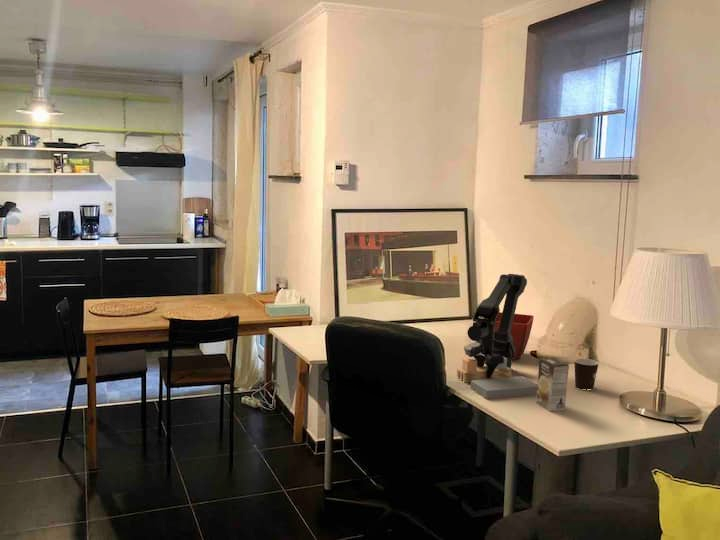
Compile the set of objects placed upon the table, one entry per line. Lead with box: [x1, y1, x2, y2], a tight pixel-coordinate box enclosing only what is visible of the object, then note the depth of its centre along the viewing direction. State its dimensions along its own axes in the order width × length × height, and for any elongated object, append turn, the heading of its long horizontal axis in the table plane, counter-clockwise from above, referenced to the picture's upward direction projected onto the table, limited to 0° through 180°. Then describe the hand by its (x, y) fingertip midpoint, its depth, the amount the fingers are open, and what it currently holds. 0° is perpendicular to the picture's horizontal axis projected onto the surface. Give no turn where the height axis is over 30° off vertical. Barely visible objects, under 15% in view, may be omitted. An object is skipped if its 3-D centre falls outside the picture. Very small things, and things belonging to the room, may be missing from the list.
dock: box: [470, 375, 538, 400], centre depth 248 cm, size 22×12×3 cm, turn 108°
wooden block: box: [456, 365, 513, 383], centre depth 263 cm, size 20×6×4 cm, turn 109°
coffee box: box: [535, 356, 570, 412], centre depth 232 cm, size 9×6×16 cm
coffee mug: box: [573, 358, 599, 391], centre depth 255 cm, size 12×9×10 cm
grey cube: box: [496, 357, 507, 370], centre depth 264 cm, size 4×4×4 cm
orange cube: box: [461, 357, 477, 372], centre depth 260 cm, size 4×4×4 cm
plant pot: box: [483, 311, 534, 361], centre depth 296 cm, size 19×19×17 cm
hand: (484, 375), depth 263 cm, fingers closed on wooden block, 6 cm apart
